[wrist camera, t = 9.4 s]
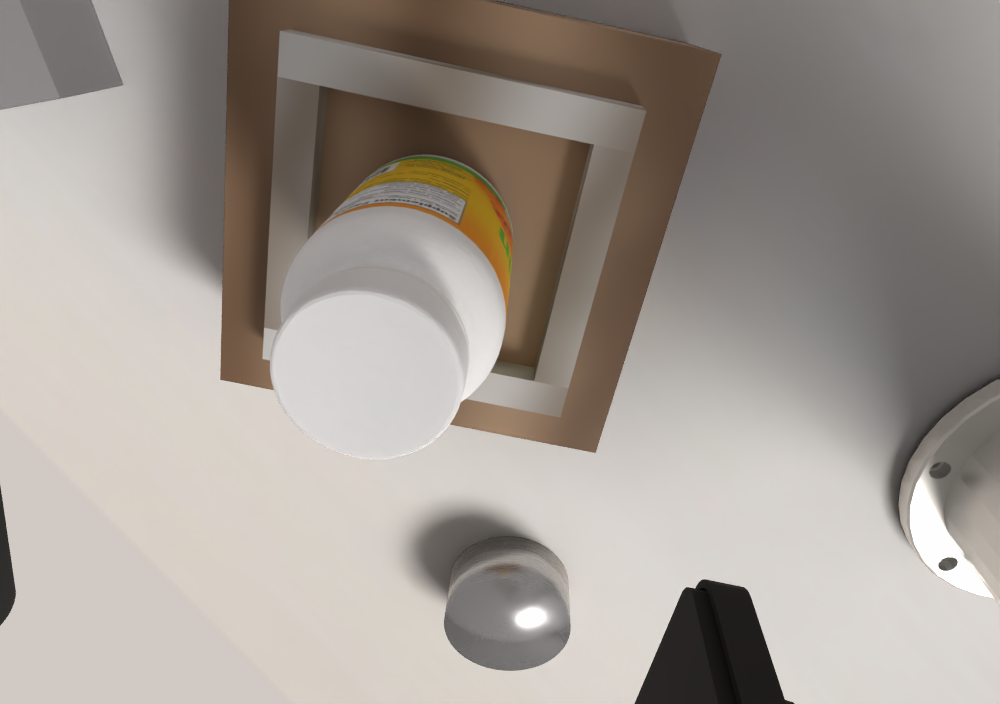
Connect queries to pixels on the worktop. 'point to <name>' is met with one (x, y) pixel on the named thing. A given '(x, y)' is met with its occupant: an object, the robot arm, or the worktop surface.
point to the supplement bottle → (395, 309)
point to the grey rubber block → (52, 51)
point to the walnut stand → (480, 145)
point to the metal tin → (508, 604)
